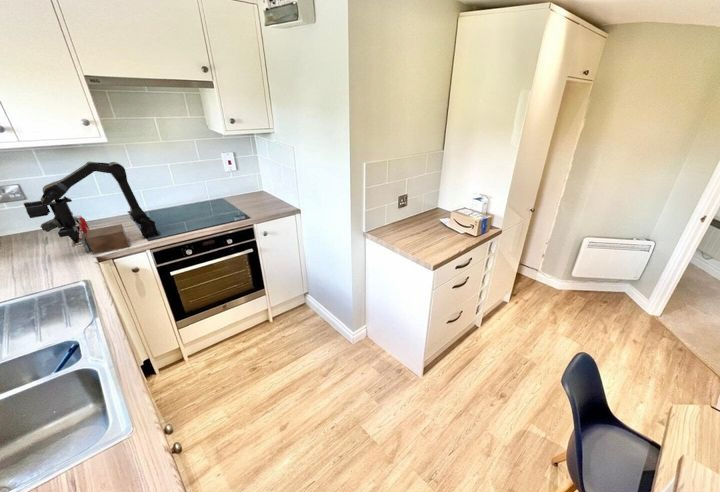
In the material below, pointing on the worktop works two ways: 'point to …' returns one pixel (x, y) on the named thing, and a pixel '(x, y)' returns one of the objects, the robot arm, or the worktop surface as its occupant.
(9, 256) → the worktop surface
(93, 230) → the cabinet
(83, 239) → the drawer
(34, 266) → the worktop surface
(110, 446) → the worktop surface
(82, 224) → the soda can
